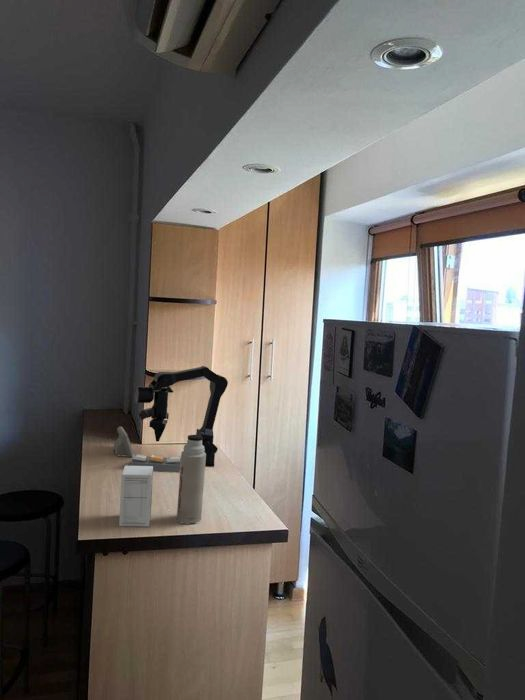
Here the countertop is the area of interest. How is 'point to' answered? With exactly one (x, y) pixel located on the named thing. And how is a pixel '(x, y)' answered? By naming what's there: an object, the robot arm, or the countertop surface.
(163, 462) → the power strip
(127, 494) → the supplement box
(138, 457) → the rocker
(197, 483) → the thermos bottle
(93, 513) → the countertop surface
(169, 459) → the rocker
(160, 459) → the block
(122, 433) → the grey tapered fin
